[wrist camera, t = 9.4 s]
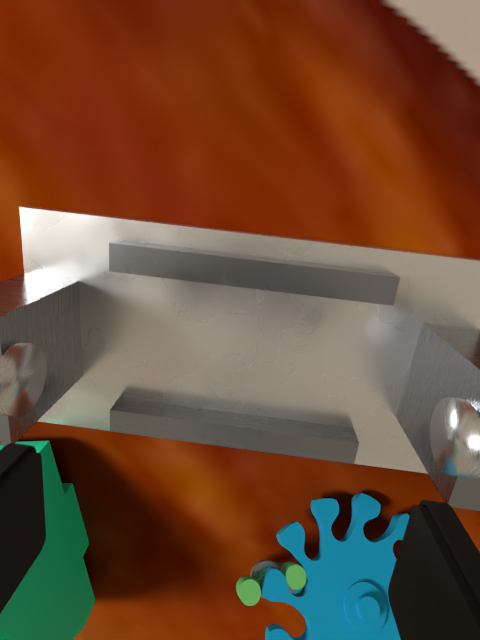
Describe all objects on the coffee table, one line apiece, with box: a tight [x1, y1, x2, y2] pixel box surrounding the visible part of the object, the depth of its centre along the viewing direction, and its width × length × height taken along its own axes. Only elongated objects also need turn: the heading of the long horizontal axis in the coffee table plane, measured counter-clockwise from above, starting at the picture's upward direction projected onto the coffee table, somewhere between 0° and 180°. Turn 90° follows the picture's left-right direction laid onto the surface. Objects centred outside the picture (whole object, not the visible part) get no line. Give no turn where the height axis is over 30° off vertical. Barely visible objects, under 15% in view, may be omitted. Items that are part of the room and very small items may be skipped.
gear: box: [236, 493, 410, 640], centre depth 20 cm, size 11×6×10 cm
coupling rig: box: [0, 206, 480, 511], centre depth 16 cm, size 11×21×7 cm, turn 84°
